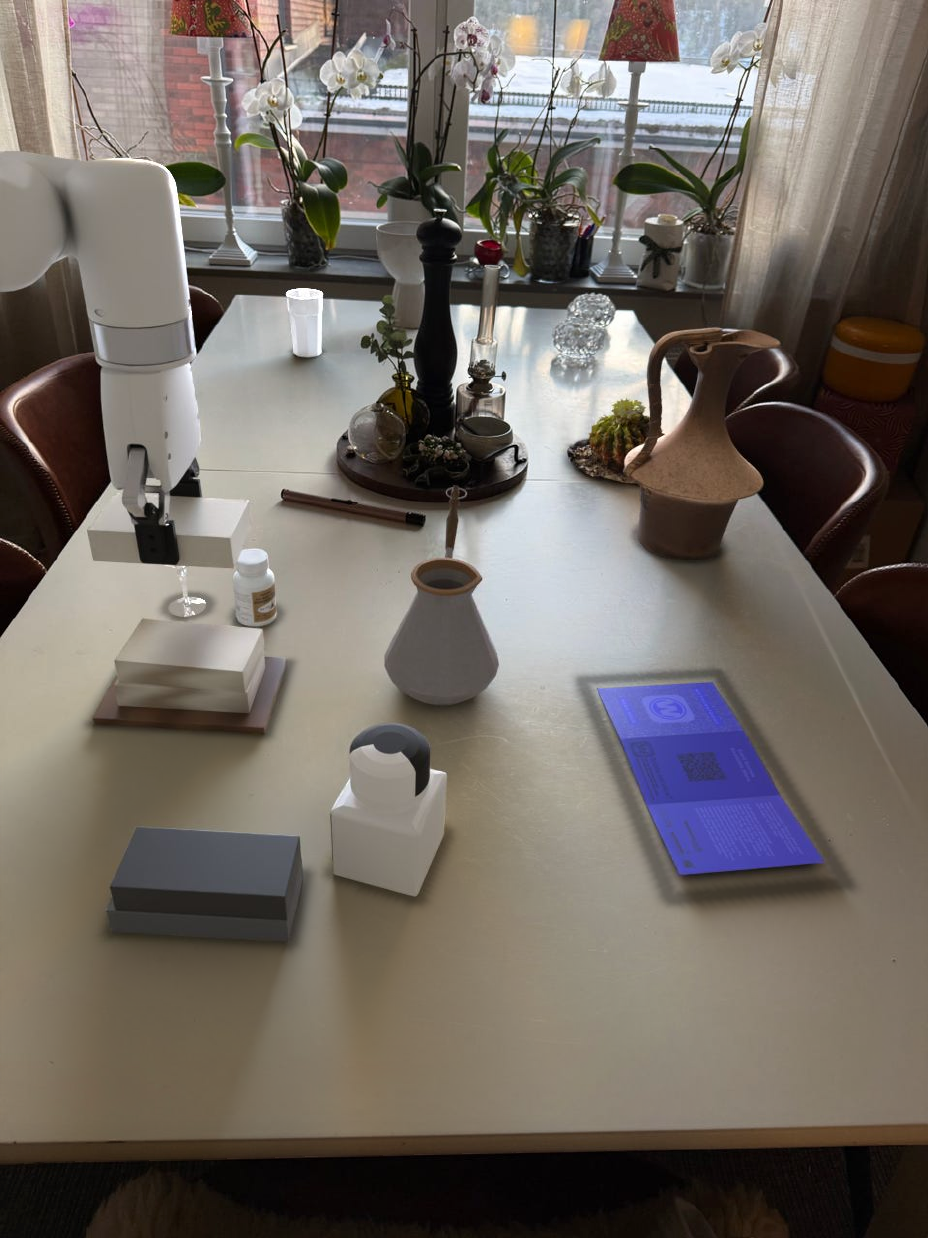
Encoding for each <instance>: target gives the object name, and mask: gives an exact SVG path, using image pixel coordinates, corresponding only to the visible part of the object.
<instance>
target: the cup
mask: <svg viewBox="0 0 928 1238" xmlns="http://www.w3.org/2000/svg"><path fill="white" fill-rule="evenodd" d="M285 295H286V304H287V311H288V314H289V325H290V333H291V340H292V341H291V343H292V352H293V354H294V355H296V356H297V357H301V358H314V357H319V356H320V355H321V354H322V323H323V310H324V307H323V305H324V304H323V301H324V300H323V299H324V296H323V295H324V293H323V292H322V291H320V290H317V289H311V288H296V289H291V290H288V291H287V292H286V293H285Z"/></svg>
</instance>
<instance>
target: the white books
mask: <svg viewBox="0 0 928 1238" xmlns="http://www.w3.org/2000/svg"><path fill="white" fill-rule="evenodd" d="M113 661H114V666H115V671H116V675H115V677H114V678H113V680H112V682H111V684H110V685H109V688H108V689H107V691H106V693H105V694H104V696H103V697H102V700H101V701H100V703H99V705H98V707H97V708H96V711H95V712H94V713H93V716H92V723H93V725H95V726H97V725H98V726H112V727H113V726H114V727H129V728H148V729H163V730H165V729H166V730H180V731H181V730H182V731H197V732H215V733H216V732H217V733H232V734H233V733H234V734H235V733H236V734H251V735H266V732H267V729H268V726H269V723H270V721H271V716H272V714H273V712H274V711H273V710H274V708H275V704H276V701H277V698H278V695H279V691H280V689H281V686H282V682H283V679H284V676H285V673H286V669H287V667H288V658H287V657H276V656H265V639H264V629H263V628H258V627H256V628H255V627H247V626H246V627H245V626H233V625H223V624H222V625H221V624H211V623H198V622H187V621H176V620H165V619H164V620H163V619H153V618H141V620H140V621H139V623H138V624H137V626H136V627H135V629H134V630H133V632H132V633H131V635H130V636H129V637H128V639H127V640H126V642H125V643H124V645H123V646H122V648H121V650H120V651H119V653H118V654H117V655H116V657H115V658H114V660H113Z"/></svg>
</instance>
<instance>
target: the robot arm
mask: <svg viewBox="0 0 928 1238" xmlns="http://www.w3.org/2000/svg"><path fill="white" fill-rule="evenodd" d="M183 238H184V237H183V229H182V221H181V213H180V205H179V196H178V190H177V184H176V181H175V179H174V177H173V175H172V173H171V172H170V170H168V169H167V168H166V167H165V166H163V165H162V164H160V163H157V162H154V161H150V160H146V159H137V158H123V157H122V158H119V157H115V158H114V157H113V158H97V159H89V160H81V159H73V158H72V159H71V158H65V157H60V156H59V157H58V156H54V155H48V154H42V153H36V152H30V151H21V150H5V151H0V293H7V292H15V291H18V290H22V289H24V288H25V289H26V288H28V287H29V286H31V285H33V284H34V283H36V282H37V281H38V280H39V279H40V278H41V277H43V275H44V274H45V273H46V272H47V271H48V270H49V268H50V267H51V266H52V265H53V264H54V263H56V262H59V261H61V260H63V259H65V258H67V257H73V258H75V260H77V262H78V267H79V273H80V280H81V285H82V290H83V296H84V301H85V306H86V307H85V308H86V313H87V317H88V323H89V329H90V335H91V341H92V345H93V351H94V358H95V362H96V363H97V364H98V365H99V366H101V369H100V402H101V403H100V404H101V414H102V424H103V434H104V442H105V450H106V456H107V465H108V471H109V477H110V482H111V485H112V486H113V488H114V489H115V490H117V491H122V493H123V494H122V504H123V505H124V507H125V508H126V509H127V511H128V513H129V515H130V517H131V522H132V524H134V528H135V534H136V540H137V546H138V551H139V557H140V561H141V562H142V563H141V564H143V563H145V564H146V565H163V566H164V565H177V564H178V562H179V560H180V557H179V551H178V544H177V537H176V530H175V523H174V520H169V504H170V496H181V497H199V498H203V493H202V485H201V479H200V478H199V477H200V464H199V463H198V460H197V457H196V456H197V455H198V453H199V451H200V448H201V425H200V417H199V416H200V414H199V407H198V402H197V395H196V389H195V383H194V377H193V372H192V367H191V362H193V361H194V360H195V359H196V358H197V348H196V340H195V331H194V323H193V315H192V306H191V305H192V304H191V298H190V297H191V296H190V289H189V282H188V273H187V265H186V264H187V263H186V255H185V254H186V253H185V246H184V239H183ZM147 479H155V480H157V481H159V482H160V485H154V484H153V485H151V484H149V485H148V484H147ZM146 494H158V495H159V500H158V508H157V507H156V506H155V505H154V504H153V503H149V502H147V499H146V497H145V495H146Z"/></svg>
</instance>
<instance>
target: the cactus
mask: <svg viewBox="0 0 928 1238" xmlns="http://www.w3.org/2000/svg"><path fill="white" fill-rule="evenodd" d="M611 407H612V408H613V409H610V412H611V413H612V414H611V413H610V412H609V415H607V414H606V415H605V413H603V416H604V417H603V416H600V417H599V416H598V418H599V419H598V420H596V423H595V424H592V425H591V428H590V429H591V431H590V432H588V435H589V437H588V438H587V439H582V440H578V441H576V442H575V443H574V444H570V445H569V447H568V448H567V450H566V454H567V457H568V460H570V463H572V465H576V467H577V469H579V470H580V471H581V472H583V473H584V474H585V475H586V474H587V475H589V476H592V477H602V478H604V479H609V480H612V481H616V482H620V483H624V484H637V483H636V482H635V481H633V480H631V479H629V478H628V477H626V476H625V474H624V472H623V470H624V468H625V466H624V460H625V457H626V456H627V454H628V453H629V452H630V451H631V450H632V449H634V448H636V447H638V446H640V445H643V444H645V441H646V439H647V437H648V432H649V424H650V415H644V413H645V410H646V408H647V407H646V406H645V405H644V404H643V402H642V401H639V400H638V399H633V400H630V399H628V398H627V397H625V398H624V399H623V398H621V399H620V400H616V402H615V403H614V404H611ZM663 431H664V429H663V428H661V429H660V432H659V437H658V438H660V437H662V436H664V435H666V433H663Z"/></svg>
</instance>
